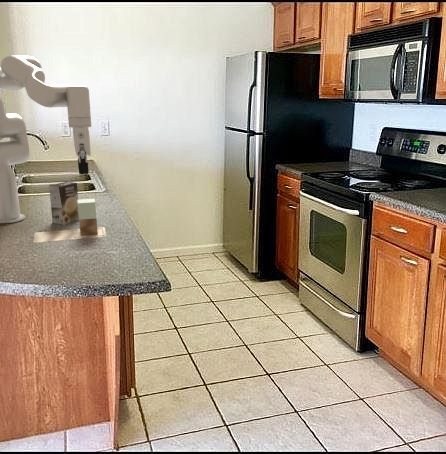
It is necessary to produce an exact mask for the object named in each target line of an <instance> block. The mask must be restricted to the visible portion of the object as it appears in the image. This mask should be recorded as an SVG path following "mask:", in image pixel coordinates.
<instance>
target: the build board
mask: <svg viewBox="0 0 446 454" xmlns="http://www.w3.org/2000/svg"><path fill="white" fill-rule="evenodd" d="M97 231H98V235H86V236H81V234H80V228H77V229H65V230H64V229H63V230H52V231H51V230H49V231H41V232H39V231H38V232H34V235H33V241H32V243H33V244H36V243H48V242H56V241H57V242H59V241H71V240H78V239H79V240H81V239H93V238H94V239H95V238H105V237H106V238H107V232H106V228H105V227H104V226H103V227H102V226H100V227H97Z"/></svg>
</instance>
